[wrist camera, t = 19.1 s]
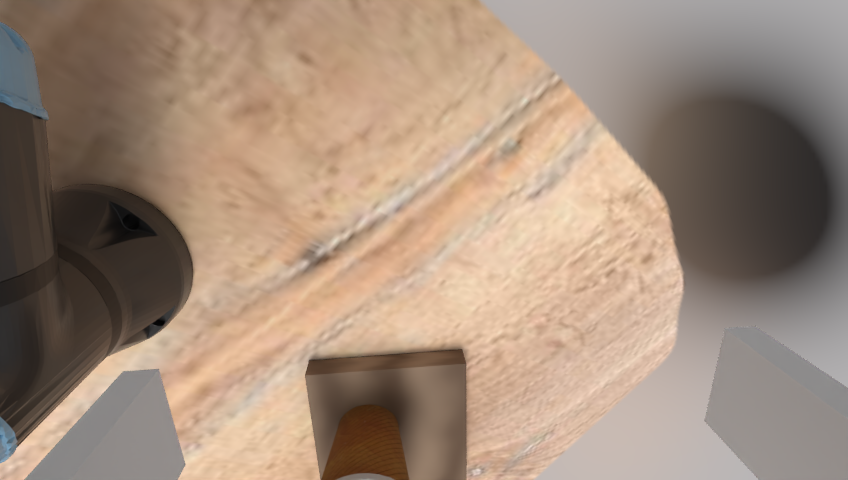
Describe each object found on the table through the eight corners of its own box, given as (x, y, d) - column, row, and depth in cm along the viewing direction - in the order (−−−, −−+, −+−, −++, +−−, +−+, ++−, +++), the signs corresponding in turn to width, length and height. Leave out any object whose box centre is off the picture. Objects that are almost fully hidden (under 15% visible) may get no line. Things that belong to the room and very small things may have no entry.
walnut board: (326, 478, 52) (323, 496, 50) (309, 360, 47) (305, 375, 44) (463, 466, 53) (466, 484, 50) (462, 349, 47) (465, 363, 45)
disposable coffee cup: (385, 376, 45) (384, 474, 34) (429, 440, 48) (442, 550, 37) (304, 416, 46) (277, 525, 34) (352, 477, 49) (342, 595, 38)
